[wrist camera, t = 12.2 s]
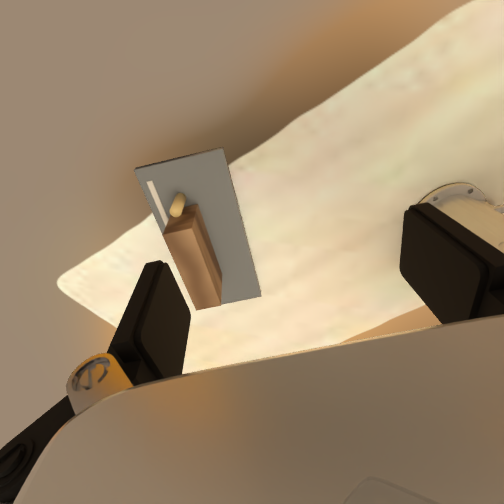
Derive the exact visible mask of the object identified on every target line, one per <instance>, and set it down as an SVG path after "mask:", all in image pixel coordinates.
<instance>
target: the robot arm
mask: <svg viewBox="0 0 504 504" xmlns="http://www.w3.org/2000/svg"><path fill="white" fill-rule="evenodd" d="M502 213H504V205H499V206H496V207H495V206H493V205H491V204H489V203H487V202H486V198H485V196H484V194H483V193H482V192H481V191H480V190H479V189H477V188H476V187H474V186H471V185H469V184H464V183H455V184H450V185H446V186H444V187H441V188H439V189H437V190H435V191H433V192H432V193H430V194H429V195H428V196H426V197H425V198H424V199H423V200H422V201H421V202H420V203H419V204H416V205H411V206H410V207H409V209H408V210H406V211H405V213H404V221H403V232H402V244H401V256H400V272H401V274H402V276H403V277H404V278H405V280H406V281H407V282H408V283H409V285H410V286H411V287H412V288H413V289H414V291H415V292H416V293H417V294H418V295H419V297H420V298H421V299H422V300H423V301H424V303H425V304H426V305H427V306H428V307H429V309H430V310H431V311H432V312H433V314H434V315H435V316H436V317H437V318H438V319H439V321H440V322H441V323H442V325H436V326H431V327H426V328H420V329H415V330H409V331H404V332H399V333H394V334H389V335H383V336H377V337H372V338H366V339H361V340H356V341H350V342H345V343H340V344H335V345H329V346H324V347H319V348H314V349H308V350H303V351H298V352H293V353H288V354H282V355H277V356H272V357H267V358H262V359H257V360H252V361H247V362H242V363H237V364H231V365H226V366H221V367H216V368H211V369H206V370H201V371H197V372H192V373H187V374H182V370H183V364H184V357H185V351H186V345H187V339H188V332H189V326H190V320H191V314H190V310H189V308H188V306H187V304H186V302H185V299H184V297H183V295H182V293H181V291H180V289H179V287H178V284H177V282H176V280H175V278H174V276H173V274H172V271H171V269H170V267H169V265H168V264H167V263H163V262H162V261H161V260H159V261H154V262H150V263H146V264H145V266H144V268H143V271H142V273H141V275H140V278H139V280H138V282H137V284H136V287H135V289H134V291H133V294H132V296H131V298H130V300H129V303H128V305H127V307H126V310H125V312H124V314H123V316H122V319H121V321H120V323H119V326H118V328H117V330H116V332H115V335H114V337H113V339H112V341H111V344H110V346H109V349H108V351H107V353H101V354H97V355H94V356H92V357H90V358H88V359H86V360H85V361H84V362H82V363H81V364H80V365H79V366H78V367H77V368H76V369H75V370H74V371H73V372H72V374H71V375H70V377H69V379H68V381H67V384H66V391H67V394H68V395H67V396H66V397H64V398H63V399H62V400H61V401H60V402H58V403H57V404H56V405H55V406H53V407H52V408H51V409H50V410H48V411H47V412H46V413H45V414H43V415H42V416H41V417H40V418H38V419H37V420H36V421H35V422H33V423H32V424H31V425H30V426H28V427H27V428H26V429H25V430H24V431H22V432H21V433H20V434H18V435H17V436H16V437H15V438H13V439H12V440H11V441H10V442H9V443H7V444H6V445H5V446H4V447H3V448H2V449H1V450H0V504H504V215H503V214H502Z"/></svg>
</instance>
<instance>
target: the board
mask: <svg viewBox="0 0 504 504" xmlns="http://www.w3.org/2000/svg"><path fill="white" fill-rule="evenodd" d="M134 172H135V174H136V176H137V178H138V181H139V183H140V185H141V187H142V190H143V192H144V194H145V196H146V199H147V201H148V203H149V205H150V208H151V210H152V212H153V214H154V217H155V219H156V221H157V223H158V226H159V228H160V230H161V232H162V235H163V232H164V230H165V227H166V225H167V222H168V220H169V218H170V215H172V216H173V217H179V216H180V215H181V213H182V210H183V207H186V206H190V205H195V204H198V206H199V209H200V212H201V214H202V217H203V220H204V223H205V226H206V229H207V232H208V235H209V237H210V240H211V243H212V246H213V249H214V252H215V255H216V258H217V260H218V263H219V266H220V269H221V272H222V294H221V305H222V304H227V303H232V302H237V301H241V300H246V299H251V298H256V297H261V291H260V287H259V283H258V279H257V275H256V272H255V268H254V264H253V260H252V256H251V252H250V249H249V245H248V241H247V237H246V233H245V230H244V226H243V222H242V218H241V214H240V210H239V207H238V203H237V199H236V195H235V191H234V187H233V184H232V180H231V176H230V172H229V168H228V164H227V161H226V157H225V153H224V149H223V147H220V148H216V149H212V150H207V151H203V152H199V153H195V154H191V155H186V156H183V157H178V158H174V159H170V160H166V161H161V162H158V163H153V164H149V165H145V166H141V167H137V168H135V169H134Z"/></svg>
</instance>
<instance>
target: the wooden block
mask: <svg viewBox="0 0 504 504" xmlns="http://www.w3.org/2000/svg"><path fill="white" fill-rule="evenodd" d="M163 237H164V240H165V242H166V244H167V246H168V249H169V251H170V253H171V255H172V257H173V260H174V262H175V264H176V266H177V269H178V271H179V273H180V275H181V277H182V280H183V282H184V284H185V286H186V289H187V291H188V293H189V295H190V297H191V300H192V302H193V304H194V306H195V309H196V310H201V309H206V308H211V307H216V306H220V305H221V294H222V272H221V269H220V266H219V263H218V260H217V258H216V255H215V252H214V249H213V246H212V243H211V240H210V237H209V235H208V232H207V229H206V226H205V223H204V220H203V217H202V214H201V212H200V209H199V206H198V204H195V205H190V206H186V207H183V210H182V213H181V215H180V216H179V217H173V216H172V215H170V218H169V220H168V222H167V225H166V227H165V230H164V232H163Z"/></svg>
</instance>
